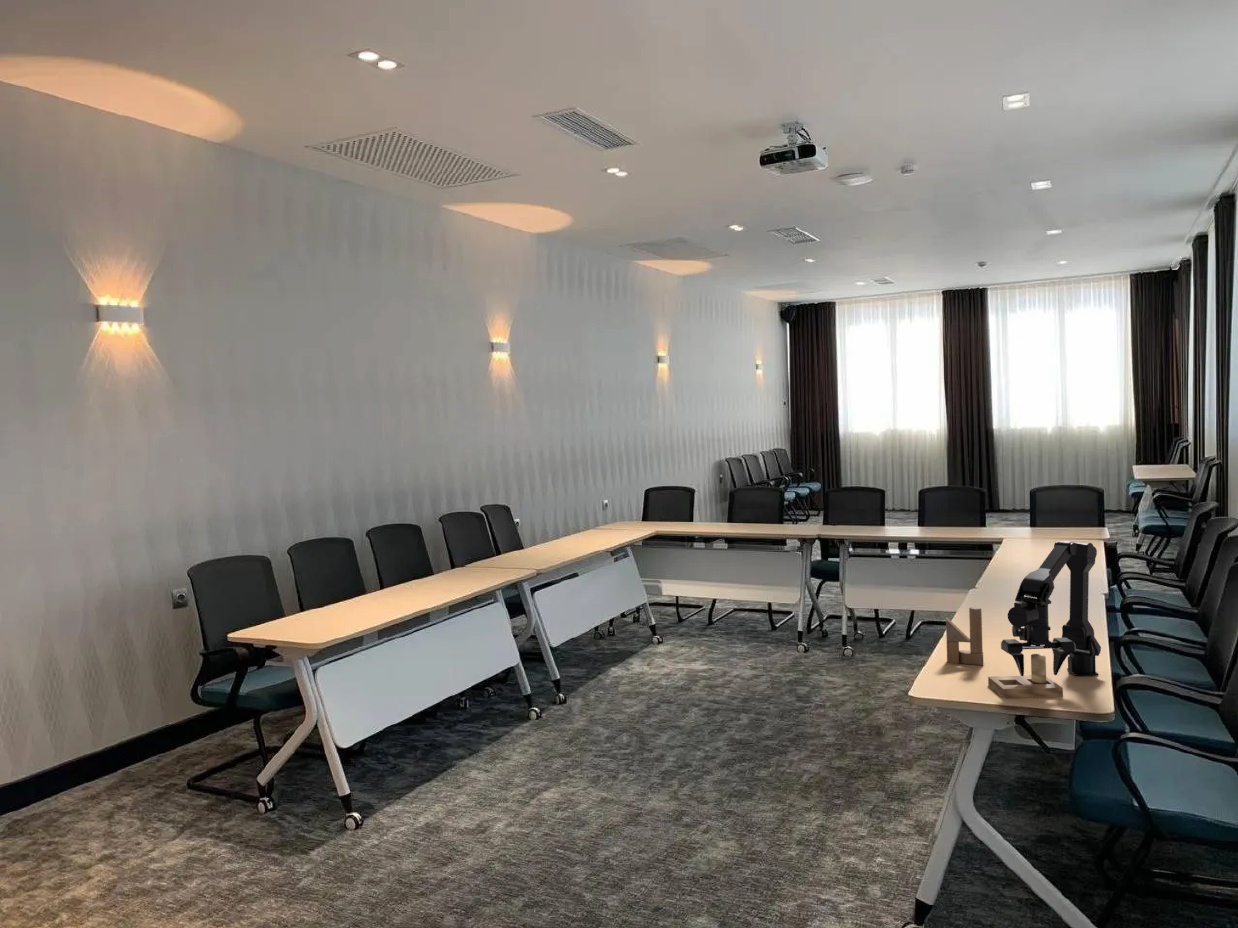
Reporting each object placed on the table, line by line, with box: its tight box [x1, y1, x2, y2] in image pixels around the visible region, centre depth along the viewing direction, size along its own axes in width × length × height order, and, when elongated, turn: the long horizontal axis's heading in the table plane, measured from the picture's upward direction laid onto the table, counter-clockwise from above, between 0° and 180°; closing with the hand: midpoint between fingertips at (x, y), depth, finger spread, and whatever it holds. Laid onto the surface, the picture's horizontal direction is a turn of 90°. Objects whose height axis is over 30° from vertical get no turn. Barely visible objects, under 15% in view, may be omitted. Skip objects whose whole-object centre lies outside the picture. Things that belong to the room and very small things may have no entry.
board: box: [987, 674, 1064, 699], centre depth 248 cm, size 16×12×2 cm
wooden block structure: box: [945, 606, 984, 666], centre depth 277 cm, size 4×11×18 cm, turn 68°
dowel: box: [1030, 653, 1047, 684], centre depth 248 cm, size 4×4×10 cm
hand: (1038, 675), depth 247 cm, fingers open, 9 cm apart
